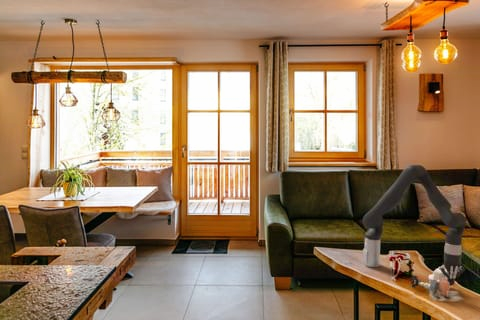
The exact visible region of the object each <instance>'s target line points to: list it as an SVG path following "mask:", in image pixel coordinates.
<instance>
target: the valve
mask: <svg viewBox="0 0 480 320" xmlns="http://www.w3.org/2000/svg"><path fill="white" fill-rule="evenodd" d="M418 278H419V277H418V275H413V277H412V279H411V280H412V281H411V288H414V289H416V287H418V286H422V287H424V288H425V289H426V290H427V289H429V290H428V294H429V293H431V290H430V282H422V281H421V282H420V279H418Z"/></svg>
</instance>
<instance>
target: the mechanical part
mask: <svg viewBox="0 0 480 320" xmlns="http://www.w3.org/2000/svg"><path fill="white" fill-rule="evenodd" d="M445 271H446V268H445ZM446 273H447V271H446ZM447 279H448V278H447V277H446V276H444V275H443V273H442V272H441V270H440V269H439V266H438V268H435V269H434V271H433V272H432V274H429V275H428V280H429V281H430V280H436V281H438V282H439V280H447ZM454 286H455V283H454V284H453V286H450V288H449V289H452V288H453V287H454Z"/></svg>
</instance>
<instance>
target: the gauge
mask: <svg viewBox="0 0 480 320" xmlns="http://www.w3.org/2000/svg"><path fill="white" fill-rule="evenodd" d="M429 284H430V290H431V293H429V292H428V296H429V297H430V298H431V299H433V300H434V301H435V302H465V301H464V298H463V297H462V296H460V295H459V293H460V292H459V291H457V290H449V295H448V297H446V295H442V291H439V282H438V281H436V280H429Z"/></svg>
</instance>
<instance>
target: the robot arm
mask: <svg viewBox="0 0 480 320" xmlns="http://www.w3.org/2000/svg"><path fill="white" fill-rule="evenodd" d="M415 182H418V183H419V184H420V185H421V186H422V187H423V189H424V190H425V191H426V192H425V193H426V195H427V197H428V200H429V202H430V203H431V204H432V206H433V207H434V209H436V211H437V212H438V214H439V216H440V218H441V221H442V222H443V224H444V225H446V227H448V228H449V230H447V232H446V234H445V244H444V249H443V250H444V251H443V260H444V261H443V262H442V265H441V266H440V265H439V266H438V267H439V269H440V270H441V272H442V273H443V275H444V276H446V277H447V278H448V279H447V281H448V282H449V283H450V286H453V287H454V285H455V280H456V278H459V277H460V276H461V275H462V274H463V273H464V272H465V271H466V267H464V266H462V264H461V262H462V249H463V247H462V241H463V234H464V231H465V228H466V225H467V220H466V217H465V215H464V214H463V213H461V212H452V210H451V209H452V204H451V203H450V201H449V200H448V199H447V198H446V197H445V196H444V195H443V193H442V192H441V191H440V189H439V188H438V187H437V185H436V183H435V182H434V181H433V179H432V177H431V175H430V173H429V172H428V170H427V169H426V168H425V167H424V166H423V165H421V164H411V165H407V166H405V167H404V169H403V170H402V171H401V173H400V175H399V176H398V178H397V179H396V180H395V182H394V183H393V184H392V185H391V186H390V187H389V188H388V189H387V190H386V191H385V193H384V194H383V195H382V197H380V199H379V200H378V201H377V203H376V204H375V205H374V206H373V207H372V208H371V209H370V210H368V212H367V213H365V215H364V216H363V217H362V224H363V226H364V227H365V228H367V229H368V230H367V231H366V232H365V234H364V248H363V249H362V264H363V265H364V267H368V268H378V267H380V262H381V260H380V257H381V256H380V255H381V239H382V238H381V237H382V234H383V230H384V218H383V216H384V215H385V214H388V213H389V212H391V211H392V210H394V209H395V207H397V206H398V205H399V204H400V202H401V201H402V200H403V198H404V195H405V191H406V190H407V188H408V187H410V185H411V184H413V183H415ZM445 268H446V271H447V273H446V271H445ZM453 284H454V285H453Z"/></svg>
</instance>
